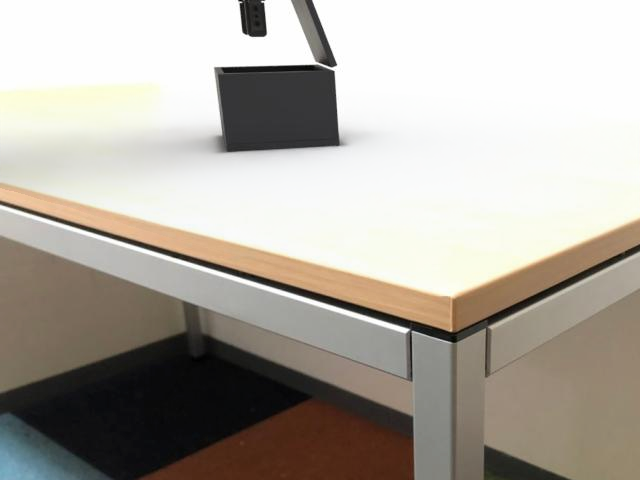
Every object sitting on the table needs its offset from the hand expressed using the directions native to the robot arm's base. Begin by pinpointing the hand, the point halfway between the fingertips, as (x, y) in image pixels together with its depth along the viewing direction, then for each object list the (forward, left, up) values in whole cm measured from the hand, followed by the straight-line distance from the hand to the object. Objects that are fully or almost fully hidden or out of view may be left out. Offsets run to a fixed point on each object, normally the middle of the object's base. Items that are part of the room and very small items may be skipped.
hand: (254, 35), depth 91 cm
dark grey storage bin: (+2, 0, -13) cm, 13 cm away
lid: (+6, 0, +3) cm, 7 cm away
